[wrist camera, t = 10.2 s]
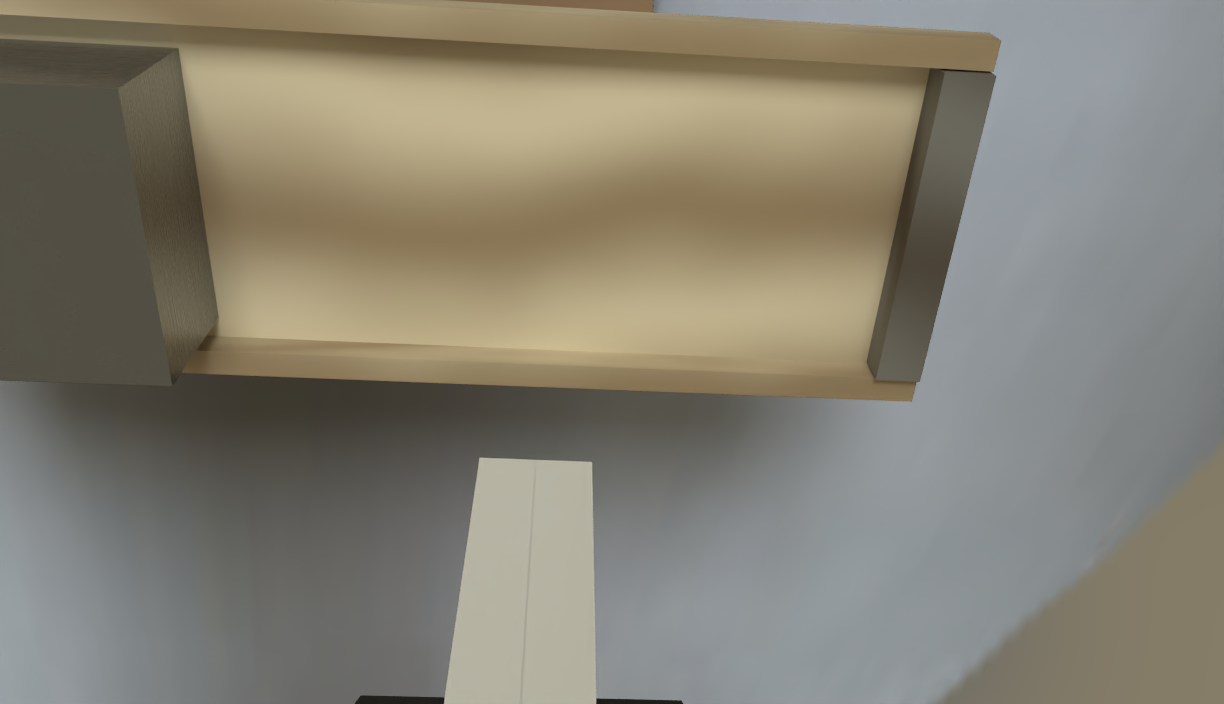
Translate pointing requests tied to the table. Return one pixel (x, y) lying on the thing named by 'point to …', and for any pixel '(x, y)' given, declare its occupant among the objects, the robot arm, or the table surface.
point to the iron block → (99, 216)
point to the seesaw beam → (565, 190)
